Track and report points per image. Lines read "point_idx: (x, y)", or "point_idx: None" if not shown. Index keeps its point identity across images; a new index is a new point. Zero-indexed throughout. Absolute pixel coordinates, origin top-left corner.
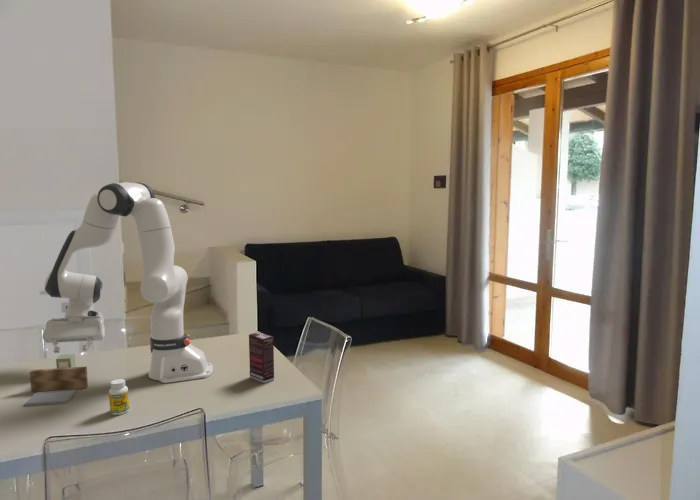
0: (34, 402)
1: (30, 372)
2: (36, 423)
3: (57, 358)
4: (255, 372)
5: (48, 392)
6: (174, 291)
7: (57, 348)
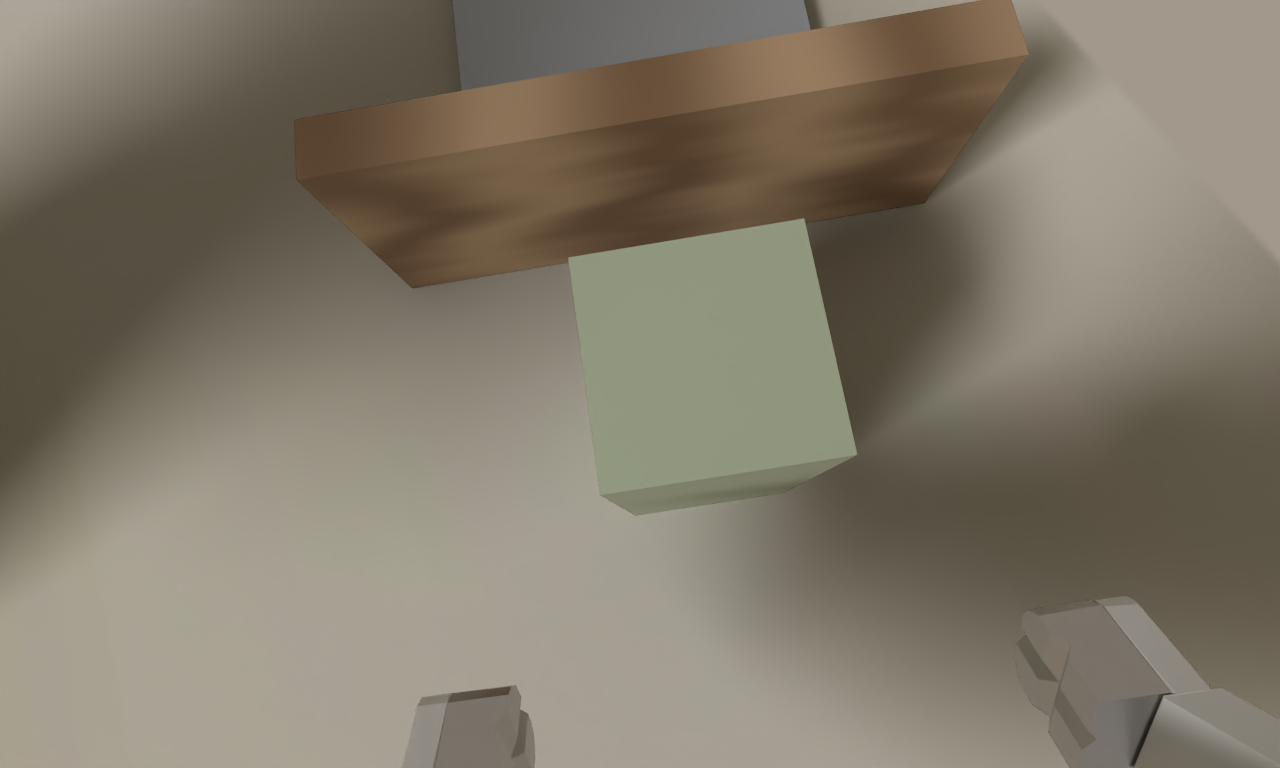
0: None
1: (994, 7)
2: None
3: (799, 252)
4: None
5: None
6: None
7: (1078, 646)
